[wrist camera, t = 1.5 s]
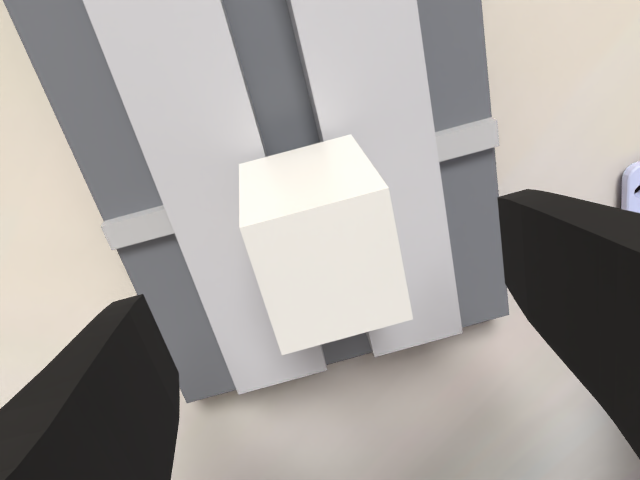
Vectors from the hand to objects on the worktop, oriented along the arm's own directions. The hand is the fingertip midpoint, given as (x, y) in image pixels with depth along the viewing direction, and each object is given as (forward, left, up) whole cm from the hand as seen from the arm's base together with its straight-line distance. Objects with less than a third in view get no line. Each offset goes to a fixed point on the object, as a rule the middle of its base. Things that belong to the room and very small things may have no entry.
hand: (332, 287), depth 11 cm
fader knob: (0, 0, -6) cm, 6 cm away
